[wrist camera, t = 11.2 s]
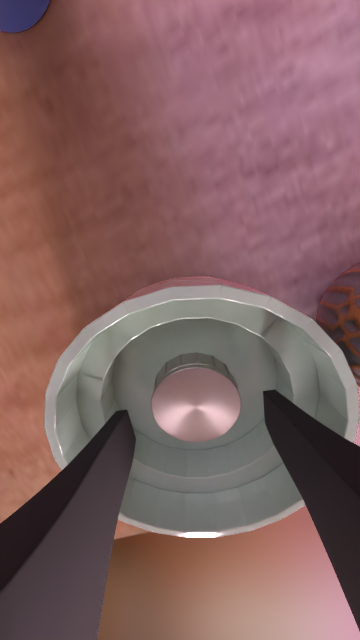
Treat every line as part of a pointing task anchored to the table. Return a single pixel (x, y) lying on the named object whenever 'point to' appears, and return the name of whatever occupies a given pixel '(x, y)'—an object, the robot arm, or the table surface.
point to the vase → (343, 316)
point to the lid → (195, 398)
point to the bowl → (213, 455)
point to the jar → (20, 14)
